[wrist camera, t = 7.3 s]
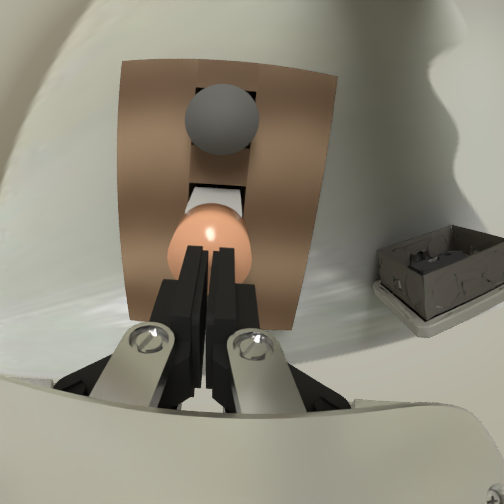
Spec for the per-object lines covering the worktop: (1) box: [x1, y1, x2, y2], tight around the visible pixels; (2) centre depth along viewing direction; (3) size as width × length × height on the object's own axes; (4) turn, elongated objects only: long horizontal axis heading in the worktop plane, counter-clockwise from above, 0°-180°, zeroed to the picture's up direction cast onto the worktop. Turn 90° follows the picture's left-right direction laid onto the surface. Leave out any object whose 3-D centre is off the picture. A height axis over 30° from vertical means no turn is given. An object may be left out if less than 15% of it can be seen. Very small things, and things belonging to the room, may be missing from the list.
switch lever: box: [185, 84, 259, 155], centre depth 15 cm, size 3×3×6 cm
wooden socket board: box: [117, 59, 337, 330], centre depth 18 cm, size 16×11×4 cm
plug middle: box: [167, 187, 252, 295], centre depth 14 cm, size 3×3×6 cm
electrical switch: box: [372, 225, 504, 338], centre depth 19 cm, size 9×5×9 cm, turn 107°
